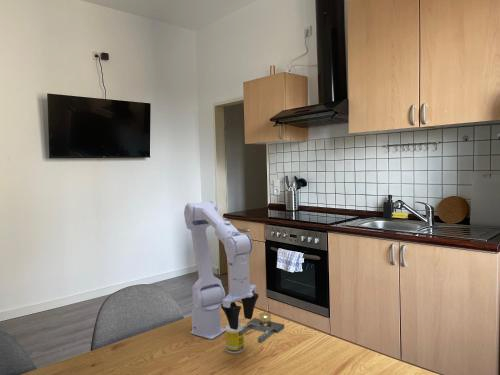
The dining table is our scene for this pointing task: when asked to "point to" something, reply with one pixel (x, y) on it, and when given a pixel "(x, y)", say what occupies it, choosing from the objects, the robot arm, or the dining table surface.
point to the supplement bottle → (234, 338)
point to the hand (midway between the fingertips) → (241, 323)
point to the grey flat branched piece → (263, 326)
